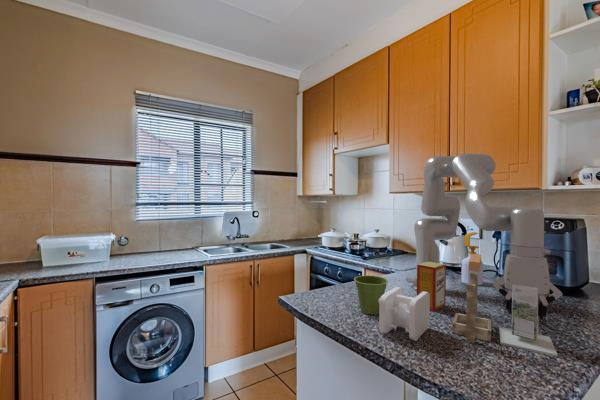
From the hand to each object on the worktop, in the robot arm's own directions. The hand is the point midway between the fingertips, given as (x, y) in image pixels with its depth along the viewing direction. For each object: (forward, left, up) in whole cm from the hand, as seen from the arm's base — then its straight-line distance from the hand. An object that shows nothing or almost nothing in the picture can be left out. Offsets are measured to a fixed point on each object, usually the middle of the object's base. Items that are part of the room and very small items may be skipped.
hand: (525, 314), depth 83 cm
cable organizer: (-30, -13, -8) cm, 33 cm away
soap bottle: (-16, +61, -8) cm, 63 cm away
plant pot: (-44, -3, -8) cm, 45 cm away
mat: (0, 0, -7) cm, 7 cm away
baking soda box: (-27, +15, -8) cm, 32 cm away
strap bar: (-13, +17, +9) cm, 23 cm away
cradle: (-13, -1, -7) cm, 15 cm away
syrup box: (0, 0, -6) cm, 6 cm away
